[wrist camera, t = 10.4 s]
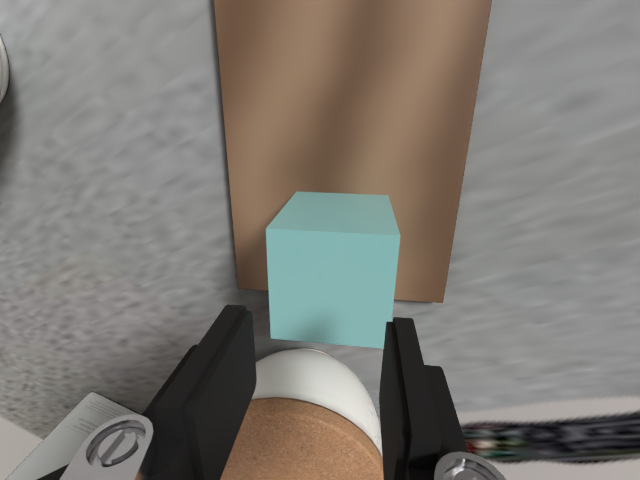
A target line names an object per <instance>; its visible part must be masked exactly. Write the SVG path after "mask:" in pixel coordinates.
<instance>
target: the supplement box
mask: <svg viewBox="0 0 640 480" xmlns="http://www.w3.org/2000/svg"><path fill="white" fill-rule="evenodd" d="M130 414H136V415H139V414H137V413H135V412H133V411H131V410H129V409H127V408H125V407H123V406H121V405H119V404H117V403H115V402H113V401H111V400H109V399H107V398H105V397H103V396H101V395H99V394H97V393H94V392H90V393H89V394H88V395H87V396H86V397H85V398H84V399H83V400H82V401H81V402H80V403H79V404H78V405H77V406H76V407H75V408H74V409H73V410H72V411H71V412H70V413H69V414H68V415H67V416H66V417H65V418H64V419H63V420H62V421H61V422H60V423H59V424H58V425H57V427H56V428H55V429H54V430H53V431H52V432H51V433H50V434H49V435H48V436H47V437H46V438H45V439H44V440H43V441H42V442H41V443H40V444H39V445H38V446H37V447H36V448H35V449H34V450H33V451H32V452H31V453H30V454H29V455H28V456H27V458H26V459H25V460H24V461H23V462H22V463H21V464H20V465H19V466H18V467H17V468H16V469H15V470H14V471H13V472H12V473H11V474H10V475H9V476H8V477H7V478H6V479H5V480H37V479H39V478H41V477H43V476H45V475H47V474H49V473H51V472H53V471H55V470H57V469H59V468H61V467H63V466H65V465H67V464H69V463H70V462H71V461H72V459H73V457H74V456H75V454H76V453H77V451H78V449H79V448H80V446H81V445H82V443H83V442H84V441H85V440H86V438H87V437H88V436H89V435H90V434H91V433H92V432H93V431H94V430H96V429H97V428H98V427H99V426H101V425H103V424H104V423H106V422H108V421H109V420H112V419H114V418H117V417H120V416H124V415H130Z"/></svg>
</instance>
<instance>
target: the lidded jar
mask: <svg viewBox="0 0 640 480" xmlns="http://www.w3.org/2000/svg"><path fill="white" fill-rule="evenodd" d="M256 375H257V382H256V388H255V391H254V394H253V396H252V399H251V401H250V404H249V407H248V409H247V412H246V414H245V417H244V419H243V422H242V425H241V427H240V430H239V432H238V435H237V437H236V440H235V443H234V445H233V448H232V450H231V453H230V456H229V458H228V461H227V463H226V466H225V468H224V471H223V474H222V476H221V479H220V480H384V476H383V458H382V440H381V433H380V428H379V423H378V418H377V414H376V411H375V408H374V405H373V403H372V400H371V398H370V396H369V394H368V392H367V390H366V389H365V387H364V385H363V384H362V382H361V381H360V380H359V378H358V377H357V376H356V375H355V374H354V373H353V372H352V371H351V370H350V369H349V368H348V367H347V366H346V365H344V364H343V363H342V362H340V361H338V360H337V359H335V358H334V357H332V356H330V355H329V354H327V353H325V352H322V351H319V350H316V349H310V348H298V349H291V350H284V351H280V352H276V353H274V354H271V355H269V356H266V357H264V358H262V359H261V360H259V361H257V362H256Z"/></svg>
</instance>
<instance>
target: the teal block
mask: <svg viewBox="0 0 640 480" xmlns="http://www.w3.org/2000/svg"><path fill="white" fill-rule="evenodd" d="M399 245H400V232H399V229H398V226H397V222H396V219H395V216H394V212H393V209H392V206H391V202H390V199H389V196H388V195H370V194H345V193H320V192H296V193H295V194H294V195H293V196H292V197H291V199H290V200H289V201H288V202H287V203H286V205H285V206H284V207H283V208H282V210H281V211H280V212H279V213H278V214H277V216H276V217H275V218H274V219H273V220H272V222H271V223H270V224H269V225H268V226H267V228H266V247H267V268H268V290H269V311H270V333H271V339H282V340H293V341H305V342H316V343H328V344H339V345H350V346H362V347H373V348H384V340H385V329H386V322H391V321H392V312H393V302H394V293H395V283H396V274H397V264H398V255H399Z"/></svg>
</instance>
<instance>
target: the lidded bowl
mask: <svg viewBox="0 0 640 480" xmlns="http://www.w3.org/2000/svg"><path fill="white" fill-rule="evenodd" d="M8 83H9V63H8V56H7V53H6V49H5V45H4V43H3V40H2V38H1V35H0V103H1V102H2V100H3V98H4V97H5V94H6V91H7V89H8Z"/></svg>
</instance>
